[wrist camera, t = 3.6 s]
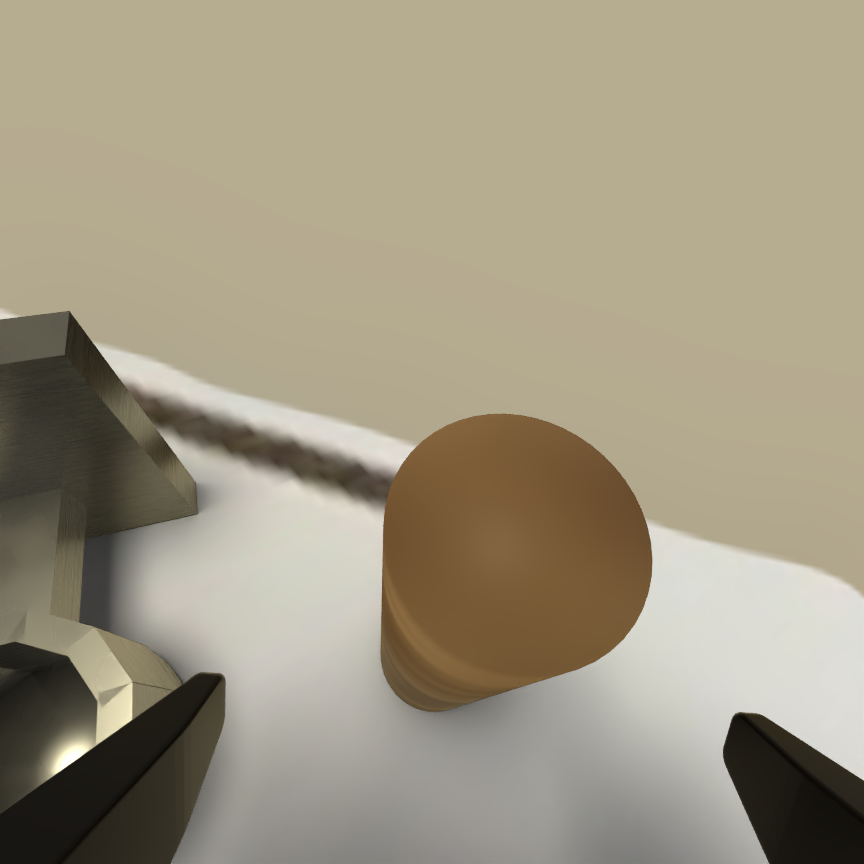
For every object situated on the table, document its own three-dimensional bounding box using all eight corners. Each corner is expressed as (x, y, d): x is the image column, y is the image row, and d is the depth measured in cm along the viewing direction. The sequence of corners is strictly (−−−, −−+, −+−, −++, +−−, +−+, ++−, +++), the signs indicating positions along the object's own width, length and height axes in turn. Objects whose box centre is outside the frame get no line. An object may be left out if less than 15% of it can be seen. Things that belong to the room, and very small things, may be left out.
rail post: (501, 691, 18) (706, 623, 7) (395, 728, 17) (428, 722, 6) (466, 584, 20) (579, 394, 9) (369, 611, 19) (357, 440, 8)
